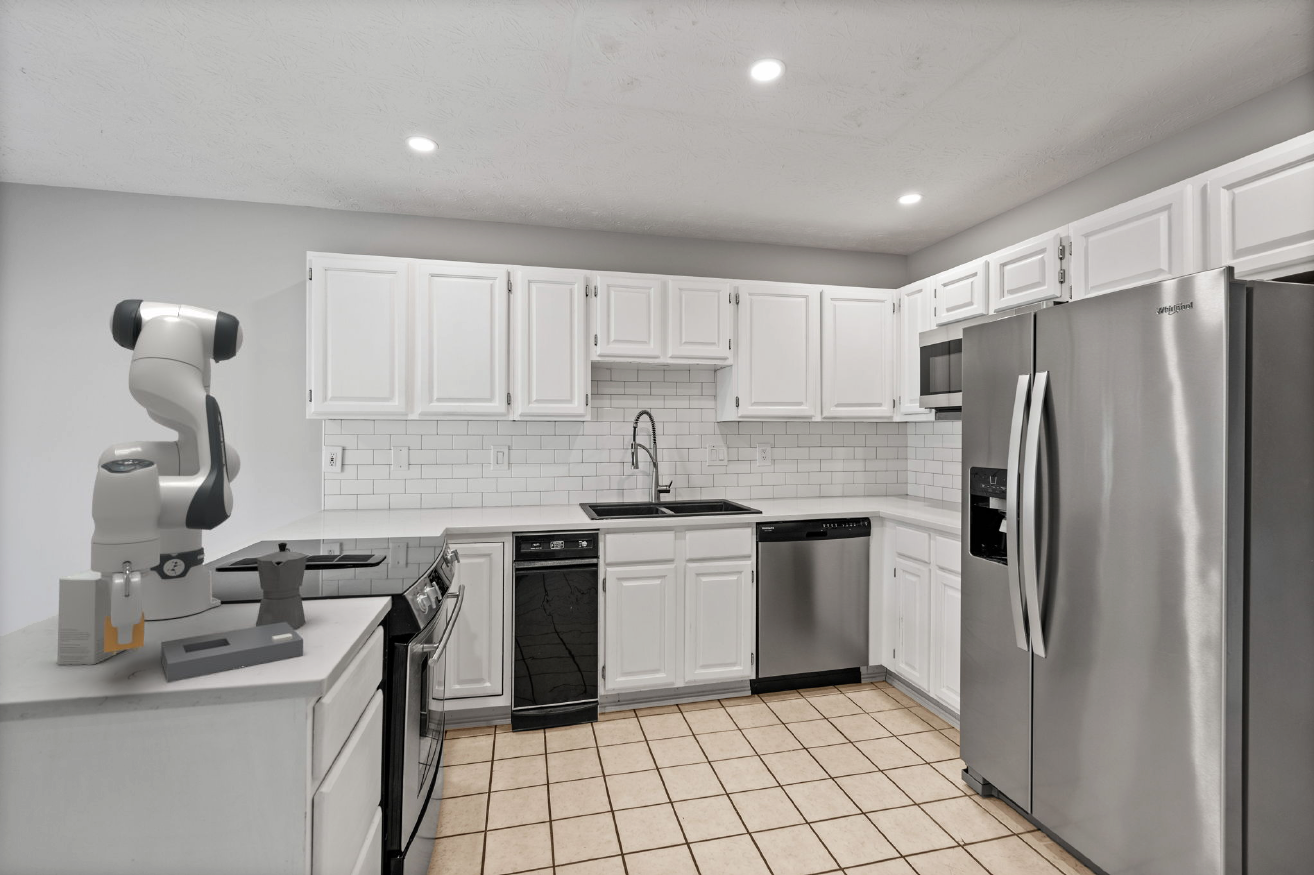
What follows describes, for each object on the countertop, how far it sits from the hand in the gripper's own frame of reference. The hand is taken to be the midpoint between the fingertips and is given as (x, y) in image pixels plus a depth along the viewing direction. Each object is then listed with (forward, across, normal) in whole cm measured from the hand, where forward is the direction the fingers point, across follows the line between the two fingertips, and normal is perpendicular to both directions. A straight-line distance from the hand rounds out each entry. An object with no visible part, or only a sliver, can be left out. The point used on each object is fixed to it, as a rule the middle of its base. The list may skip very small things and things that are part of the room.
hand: (124, 638), depth 105 cm
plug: (+2, 0, 0) cm, 2 cm away
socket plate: (+7, 0, -15) cm, 17 cm away
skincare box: (+7, +15, +4) cm, 17 cm away
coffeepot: (+7, +16, -26) cm, 32 cm away
